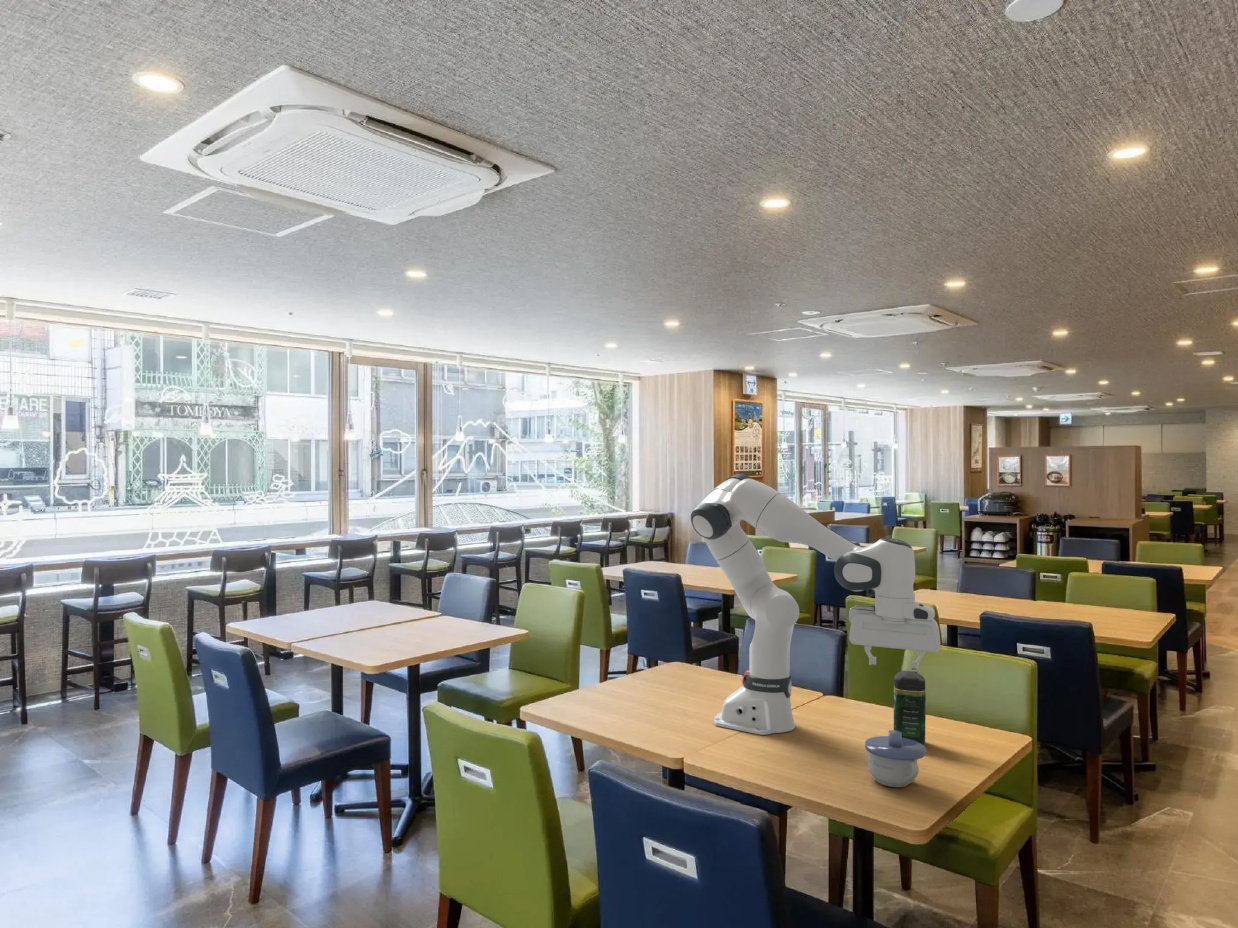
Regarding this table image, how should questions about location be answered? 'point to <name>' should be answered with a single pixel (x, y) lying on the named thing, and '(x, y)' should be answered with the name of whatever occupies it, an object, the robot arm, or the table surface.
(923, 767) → the table surface
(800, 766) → the table surface
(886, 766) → the teacup
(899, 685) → the coffee jar
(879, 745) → the lid
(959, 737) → the table surface
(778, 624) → the robot arm
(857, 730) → the table surface
